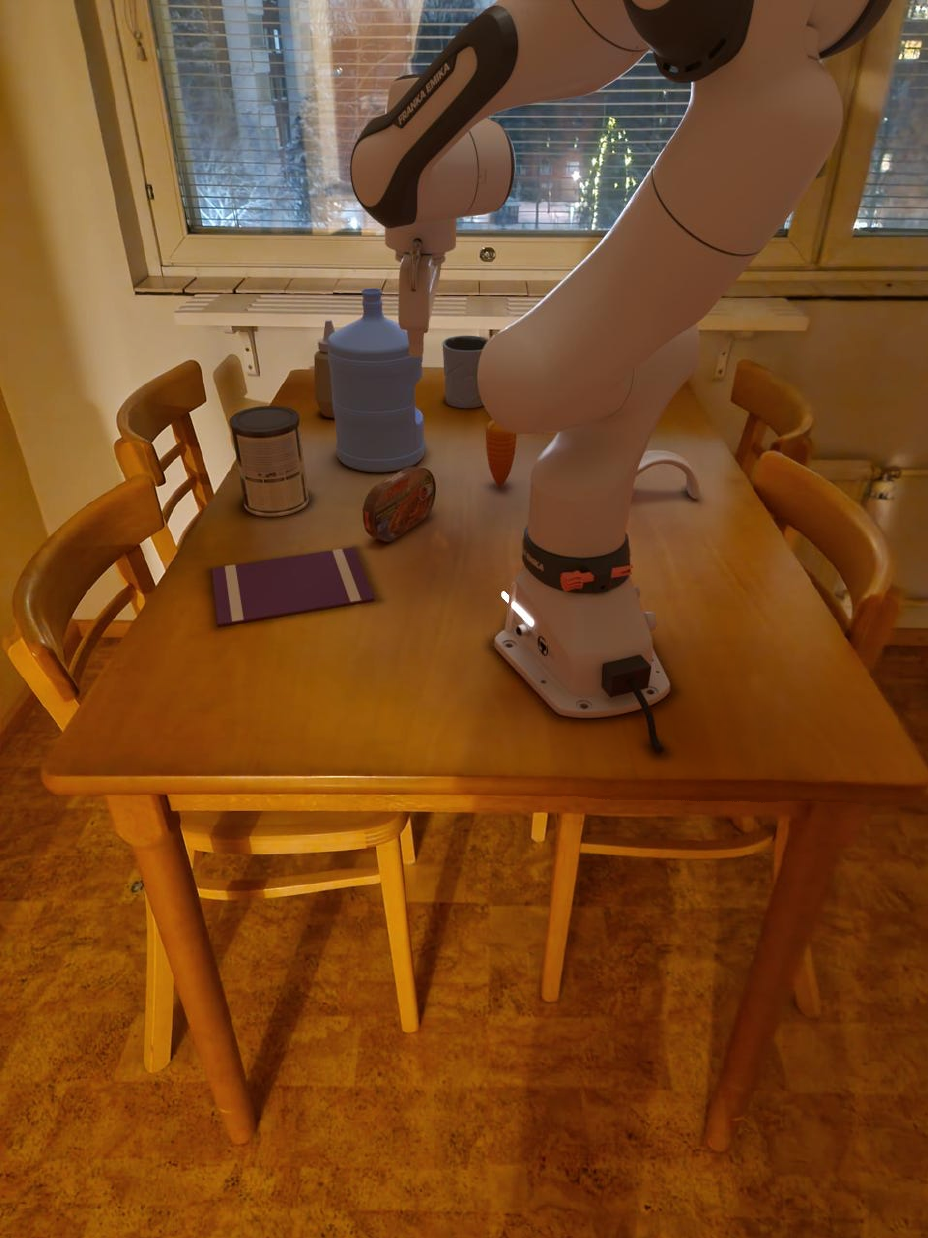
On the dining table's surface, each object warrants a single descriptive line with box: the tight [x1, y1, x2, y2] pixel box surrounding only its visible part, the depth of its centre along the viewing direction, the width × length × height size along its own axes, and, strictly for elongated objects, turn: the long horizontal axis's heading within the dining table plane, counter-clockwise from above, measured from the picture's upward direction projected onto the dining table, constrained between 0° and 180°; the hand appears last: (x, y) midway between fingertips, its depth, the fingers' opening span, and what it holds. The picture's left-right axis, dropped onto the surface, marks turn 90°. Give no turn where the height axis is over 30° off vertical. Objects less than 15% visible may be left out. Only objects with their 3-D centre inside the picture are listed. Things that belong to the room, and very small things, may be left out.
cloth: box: [211, 546, 376, 628], centre depth 109 cm, size 14×20×1 cm
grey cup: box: [441, 335, 490, 409], centre depth 164 cm, size 10×10×12 cm
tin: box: [362, 466, 437, 543], centre depth 120 cm, size 15×3×8 cm, turn 146°
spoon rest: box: [636, 449, 700, 500], centre depth 129 cm, size 24×12×7 cm, turn 93°
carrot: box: [485, 419, 518, 488], centre depth 130 cm, size 5×5×15 cm
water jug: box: [328, 288, 426, 473], centre depth 136 cm, size 16×16×28 cm
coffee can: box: [228, 405, 310, 518], centre depth 125 cm, size 10×10×14 cm
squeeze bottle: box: [313, 319, 336, 419], centre depth 156 cm, size 8×8×18 cm
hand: (419, 342), depth 108 cm, fingers open, 8 cm apart
